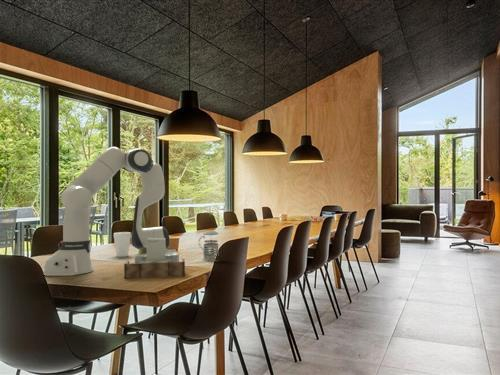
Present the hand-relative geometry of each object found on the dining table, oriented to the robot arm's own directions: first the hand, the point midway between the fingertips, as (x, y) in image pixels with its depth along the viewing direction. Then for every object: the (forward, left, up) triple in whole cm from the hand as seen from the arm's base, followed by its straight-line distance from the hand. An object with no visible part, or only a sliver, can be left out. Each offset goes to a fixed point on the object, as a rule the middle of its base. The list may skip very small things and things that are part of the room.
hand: (156, 260), depth 191 cm
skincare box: (0, -3, -5) cm, 6 cm away
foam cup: (-22, +55, -5) cm, 59 cm away
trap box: (0, -7, -5) cm, 9 cm away
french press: (+26, +32, -5) cm, 42 cm away
